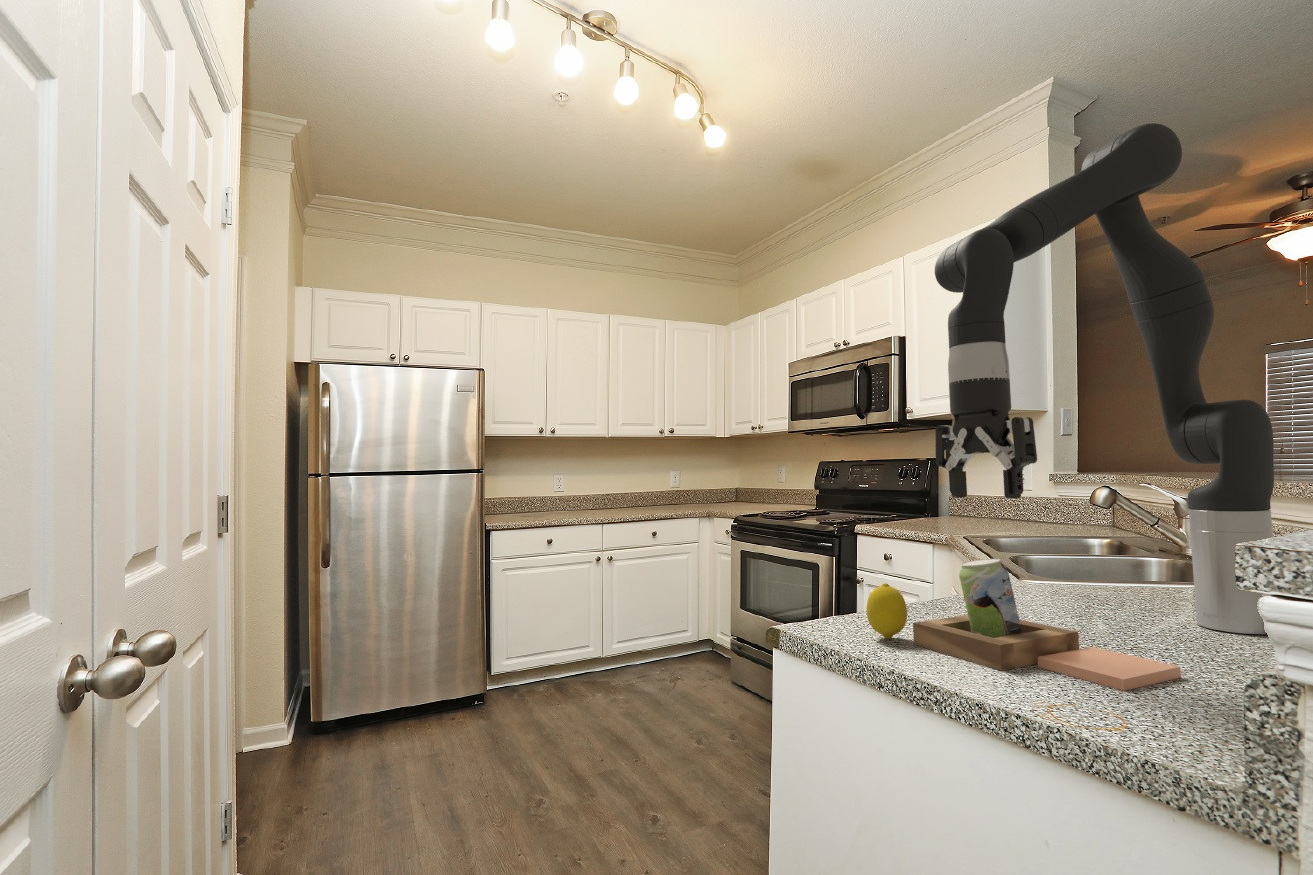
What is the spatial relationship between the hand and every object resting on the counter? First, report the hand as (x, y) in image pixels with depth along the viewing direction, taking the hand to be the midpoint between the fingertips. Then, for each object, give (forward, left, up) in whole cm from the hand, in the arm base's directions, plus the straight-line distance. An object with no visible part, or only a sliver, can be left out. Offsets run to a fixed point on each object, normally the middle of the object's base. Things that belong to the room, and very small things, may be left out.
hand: (984, 497), depth 89 cm
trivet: (-3, +13, -20) cm, 24 cm away
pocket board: (0, 0, -20) cm, 20 cm away
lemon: (+8, -11, -21) cm, 25 cm away
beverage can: (0, 0, -21) cm, 21 cm away
